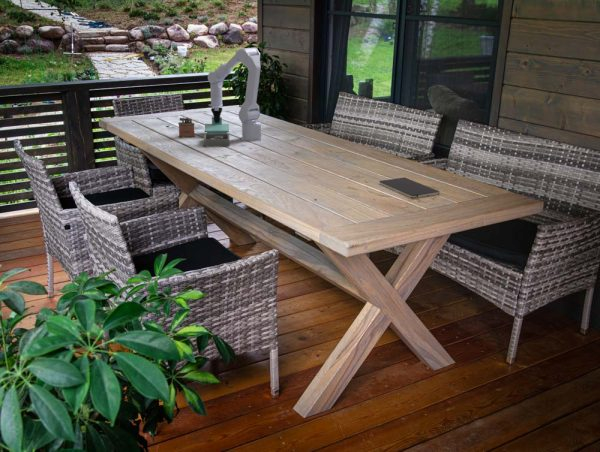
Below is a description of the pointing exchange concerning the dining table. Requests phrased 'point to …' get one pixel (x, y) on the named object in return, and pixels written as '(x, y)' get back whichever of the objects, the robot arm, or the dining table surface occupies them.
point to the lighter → (186, 128)
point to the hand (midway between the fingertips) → (217, 122)
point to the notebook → (408, 187)
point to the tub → (221, 142)
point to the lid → (216, 127)
